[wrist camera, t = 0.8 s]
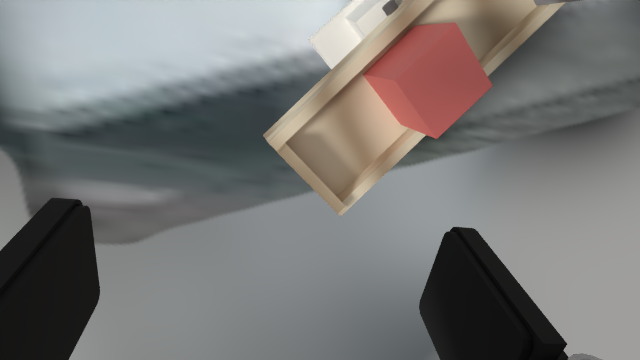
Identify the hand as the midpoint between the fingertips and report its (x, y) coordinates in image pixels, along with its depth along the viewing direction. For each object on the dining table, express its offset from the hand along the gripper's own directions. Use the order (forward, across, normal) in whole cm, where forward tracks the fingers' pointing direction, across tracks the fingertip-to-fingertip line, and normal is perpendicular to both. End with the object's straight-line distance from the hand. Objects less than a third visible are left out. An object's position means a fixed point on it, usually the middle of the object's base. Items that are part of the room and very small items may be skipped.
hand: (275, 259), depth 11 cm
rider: (+20, -10, -2) cm, 22 cm away
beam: (+22, -11, -3) cm, 25 cm away
